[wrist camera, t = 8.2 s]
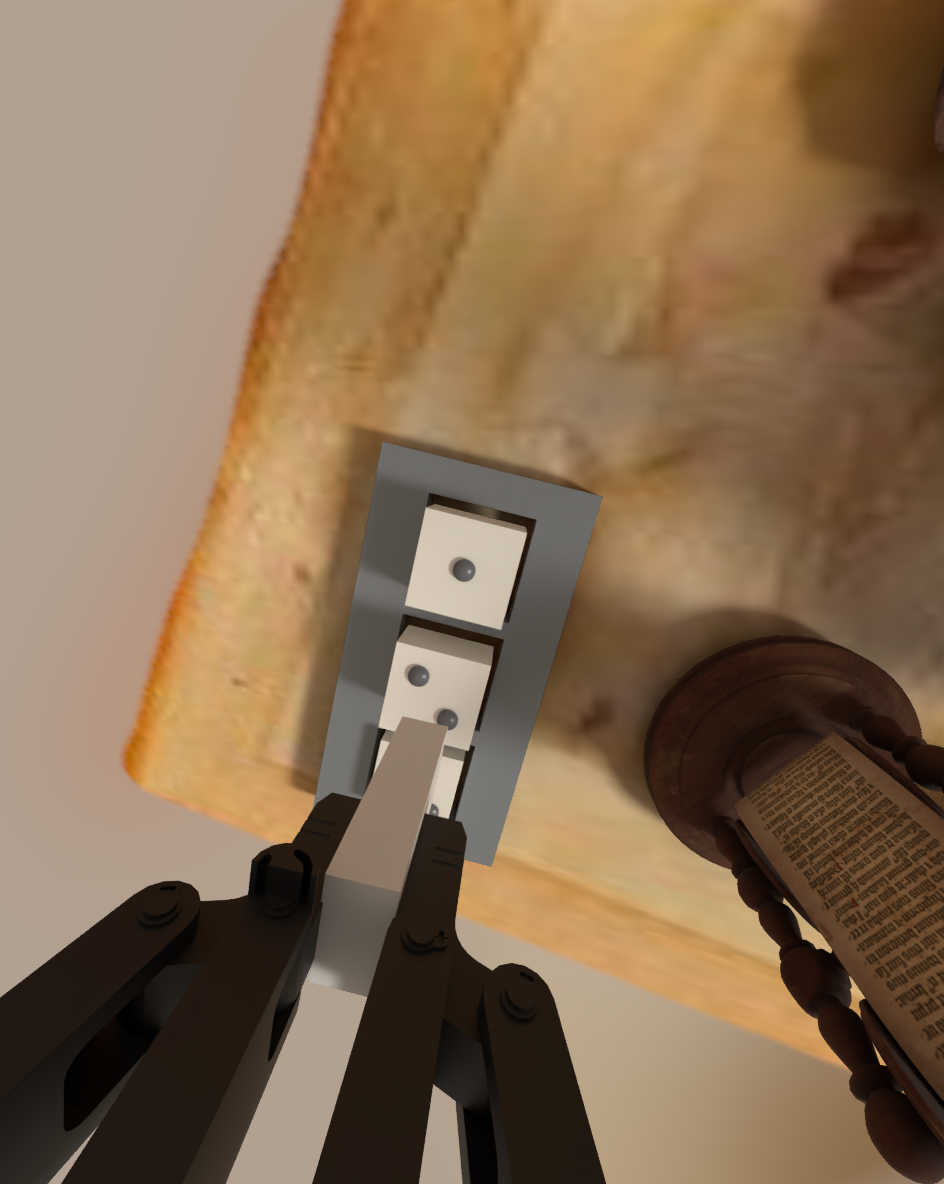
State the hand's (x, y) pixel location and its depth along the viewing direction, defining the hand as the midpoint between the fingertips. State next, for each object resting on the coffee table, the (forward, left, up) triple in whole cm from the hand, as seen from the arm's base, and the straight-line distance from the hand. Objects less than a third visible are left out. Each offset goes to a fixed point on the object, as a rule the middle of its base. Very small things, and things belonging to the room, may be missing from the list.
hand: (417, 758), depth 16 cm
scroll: (+3, +20, -15) cm, 25 cm away
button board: (+3, 0, -15) cm, 15 cm away
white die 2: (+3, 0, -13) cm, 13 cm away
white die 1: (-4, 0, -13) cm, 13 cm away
